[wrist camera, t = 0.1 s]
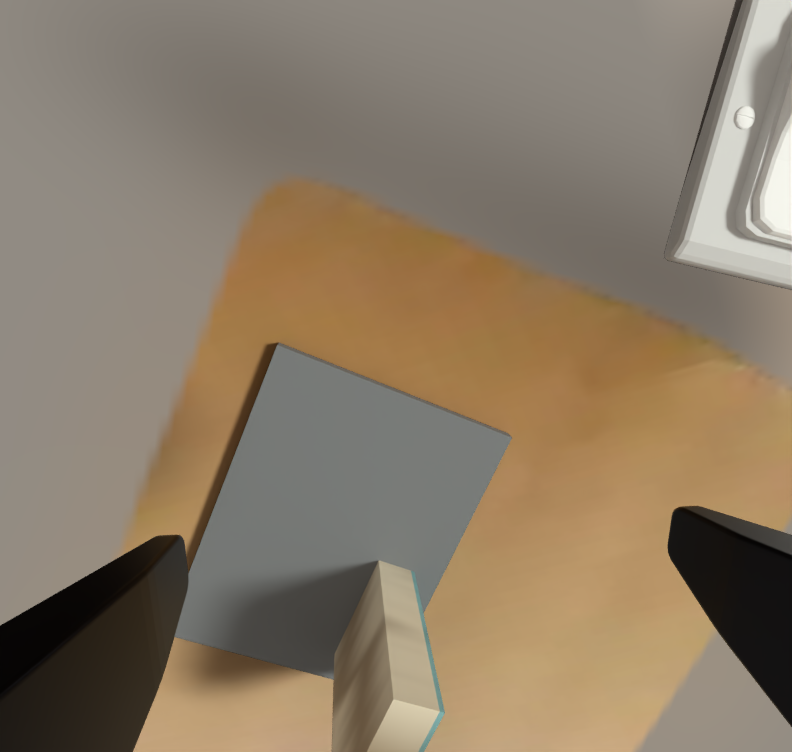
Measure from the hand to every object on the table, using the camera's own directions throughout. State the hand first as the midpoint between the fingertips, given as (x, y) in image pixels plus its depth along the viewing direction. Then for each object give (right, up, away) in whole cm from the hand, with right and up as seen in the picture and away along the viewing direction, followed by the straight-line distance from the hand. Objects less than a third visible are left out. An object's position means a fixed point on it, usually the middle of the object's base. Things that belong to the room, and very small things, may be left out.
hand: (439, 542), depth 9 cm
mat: (-4, -5, +16) cm, 17 cm away
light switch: (+18, +14, +14) cm, 27 cm away
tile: (-2, -9, +17) cm, 19 cm away
